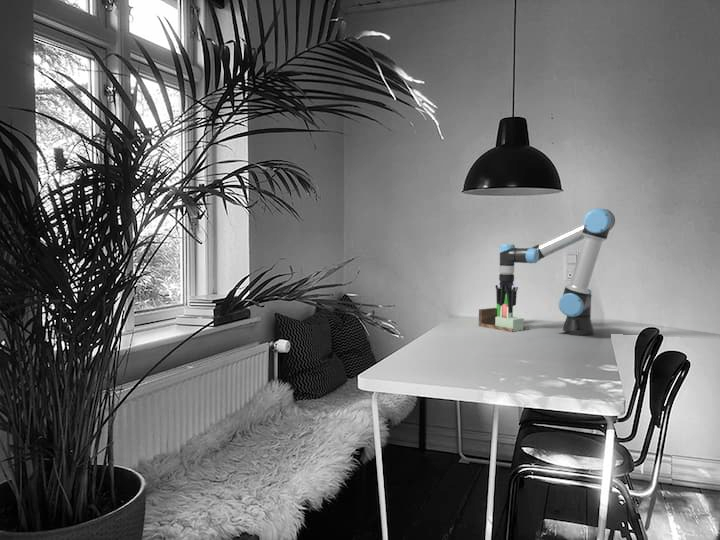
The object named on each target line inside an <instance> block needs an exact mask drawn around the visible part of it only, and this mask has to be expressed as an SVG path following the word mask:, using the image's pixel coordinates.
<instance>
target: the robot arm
mask: <svg viewBox="0 0 720 540" xmlns="http://www.w3.org/2000/svg"><path fill="white" fill-rule="evenodd" d="M583 219H584V220H583V222H582V223H579V224H578V225H576V226H573V227H572V228H571V227H570V228H569V229H567V230H565V231H562V232H561V233H559V234H557V235H555V236H552V237H550V238H549V239H546V240H545V241H544V240H543V241H542V242H540V243H538V244H536V245H534V246H532V247H525V248H523V247H521V248H519V247H516V245H515V244H514V243H501V245H500V247H499V271H498V272H499V275H498V280H499V283H498V284H497V285H495V291H496V292H495V293H496V295H495V296H496V305H497V304H499V305H500V311H501V313H500V317H502V316H503V304H504V302H505V296H506V294H507V300H508V307H507V318H511V313H512V307H514V306H516V305H517V293H518V289H519V288H518V286H515V285H514V281H515V263H521V264H537V263H538V262H539V261H541V259H544V258H545V257H548V256H550V255H552V254H554V253H557V252H559V251H560V250H563V249H565V248H568V247H570V246H571V245H573V244H575V243H577V242H580V241H582V243H581V246H580V250H579V253H578V256H577V260H576V261H575V265H574V268H573V272H572V275H571V279H570V280H569V281H570V282H569V284H567V285H565V288H564V290H563V294H562V295H561V297H560V298H559V300H558V308H559V310H560V312H561V313H562V314H563V315H565V316H566V318H565V321H564V324H563V327H562V333H563V334H566V335H573V336H593V335H594V334H595V330H594V326H593V322H592V319H591V317H592V316H591V314H592V297H593V295H592V290H591V289H589V286H590V285H589V284H590V282H591V278H592V275H593V272H594V269H595V266H596V262H597V260H598V256H599V253H600V250H601V247H602V244H603V242H604V241H606V240H607V239H608V236H609V234H610V231H611V230H612V229H613V227H614V226H615V223H616V217H615V215H614V213H613V212H612V211H611V210H609V209H605V208H602V207H601V208H599V207H597V208H593V209H591V210H589V211H588V212H587V213H586V214H585V216H584V218H583Z"/></svg>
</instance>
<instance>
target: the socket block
mask: <svg viewBox="0 0 720 540" xmlns="http://www.w3.org/2000/svg"><path fill="white" fill-rule="evenodd" d="M524 318H525V317H524ZM524 318H523V317H517V316H513V317H511V318H503V317H500V316H499V317H495V326H500V327H505V328H511V329H513V331H514V332H516V331H517V332H521V330H522V331H524V330H523V329H524V325H525V319H524Z"/></svg>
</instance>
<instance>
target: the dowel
mask: <svg viewBox="0 0 720 540" xmlns="http://www.w3.org/2000/svg"><path fill="white" fill-rule="evenodd" d="M507 307H508V304H503V316H502V317H503V318H507Z"/></svg>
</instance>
